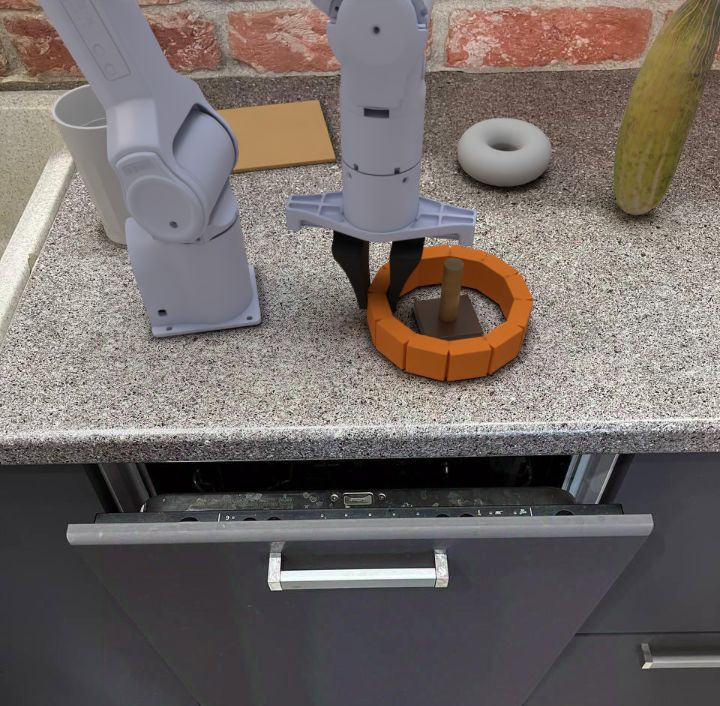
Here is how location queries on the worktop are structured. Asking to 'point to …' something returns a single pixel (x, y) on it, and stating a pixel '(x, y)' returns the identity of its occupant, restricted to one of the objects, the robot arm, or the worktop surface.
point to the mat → (279, 135)
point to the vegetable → (664, 105)
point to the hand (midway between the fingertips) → (379, 303)
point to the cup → (92, 156)
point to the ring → (459, 354)
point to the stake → (448, 309)
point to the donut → (504, 152)
